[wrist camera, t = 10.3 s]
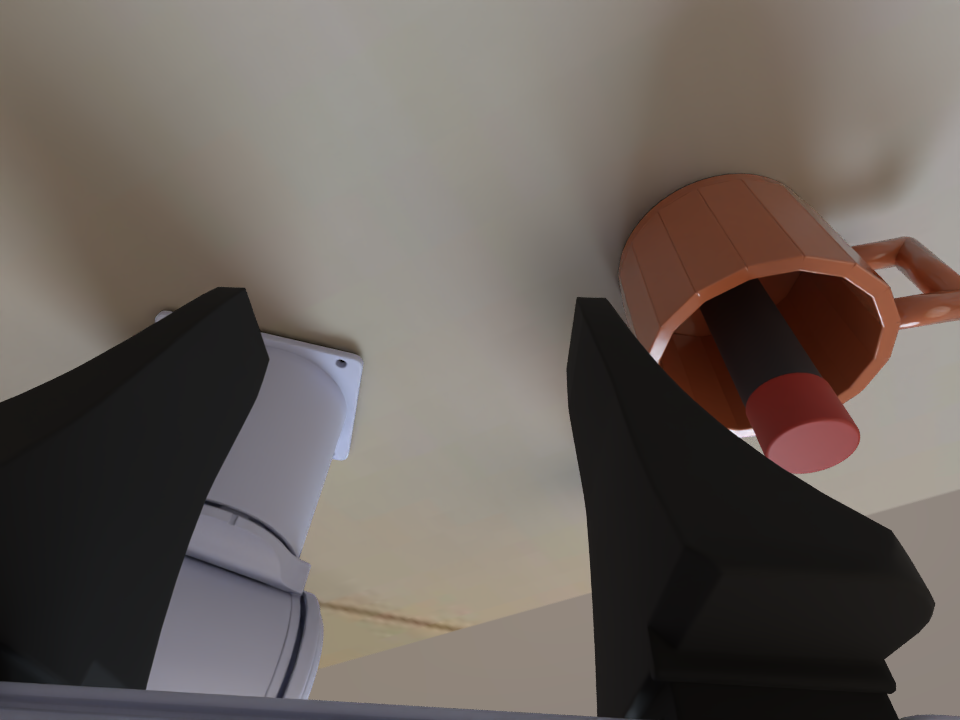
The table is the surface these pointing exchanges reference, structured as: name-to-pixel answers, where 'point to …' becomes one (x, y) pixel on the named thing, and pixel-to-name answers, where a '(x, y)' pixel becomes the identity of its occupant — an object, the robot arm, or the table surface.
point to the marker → (779, 382)
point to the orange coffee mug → (770, 286)
